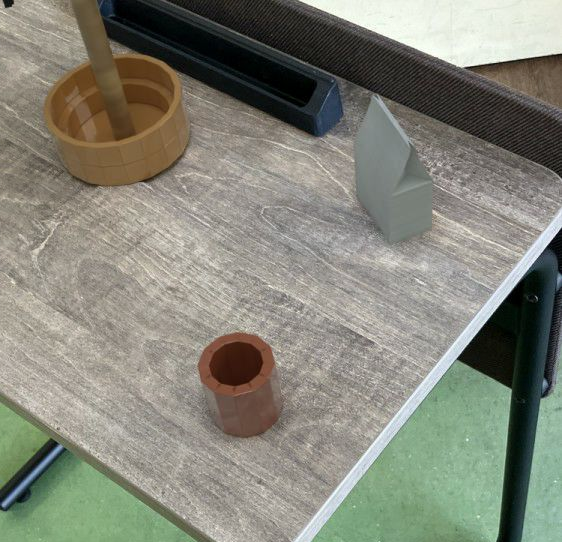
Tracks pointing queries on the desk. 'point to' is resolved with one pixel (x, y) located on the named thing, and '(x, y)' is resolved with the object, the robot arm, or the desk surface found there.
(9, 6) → the robot arm
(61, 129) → the bowl
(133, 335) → the desk surface
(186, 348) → the desk surface
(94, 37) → the stick
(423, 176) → the grey pointed block
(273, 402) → the holder
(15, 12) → the desk surface
